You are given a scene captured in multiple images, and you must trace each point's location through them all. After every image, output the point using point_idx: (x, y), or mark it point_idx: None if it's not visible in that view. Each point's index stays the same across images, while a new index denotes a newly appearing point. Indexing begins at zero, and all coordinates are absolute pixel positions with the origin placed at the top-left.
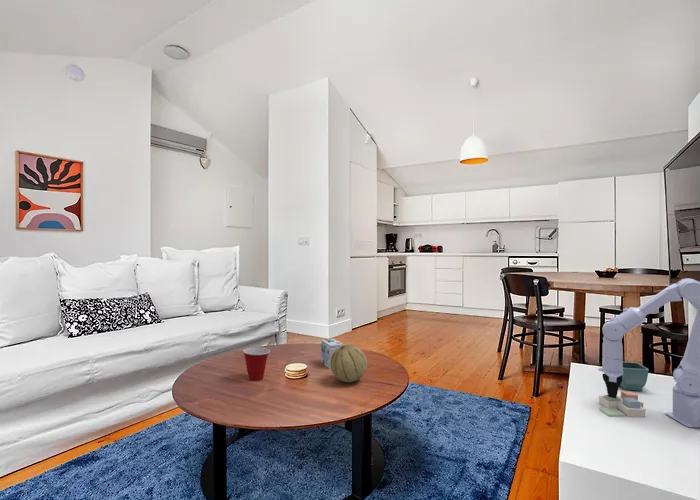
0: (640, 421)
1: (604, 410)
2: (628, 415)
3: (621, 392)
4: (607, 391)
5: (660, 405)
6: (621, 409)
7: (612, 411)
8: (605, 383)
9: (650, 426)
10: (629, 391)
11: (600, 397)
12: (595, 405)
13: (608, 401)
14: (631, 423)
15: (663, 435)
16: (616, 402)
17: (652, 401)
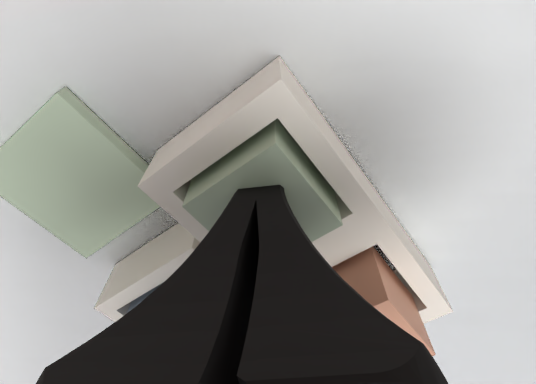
0: (97, 311)
1: (31, 140)
2: (114, 270)
3: (377, 296)
4: (217, 220)
5: (469, 365)
6: (163, 242)
7: (74, 192)
8: (140, 303)
9: (67, 343)
10: (427, 346)
11: (253, 94)
12: (158, 36)
13: (148, 184)
14: (11, 282)
15: (4, 376)
16: (198, 234)
17: (531, 340)
